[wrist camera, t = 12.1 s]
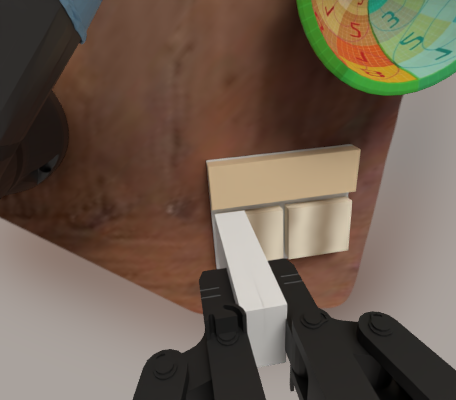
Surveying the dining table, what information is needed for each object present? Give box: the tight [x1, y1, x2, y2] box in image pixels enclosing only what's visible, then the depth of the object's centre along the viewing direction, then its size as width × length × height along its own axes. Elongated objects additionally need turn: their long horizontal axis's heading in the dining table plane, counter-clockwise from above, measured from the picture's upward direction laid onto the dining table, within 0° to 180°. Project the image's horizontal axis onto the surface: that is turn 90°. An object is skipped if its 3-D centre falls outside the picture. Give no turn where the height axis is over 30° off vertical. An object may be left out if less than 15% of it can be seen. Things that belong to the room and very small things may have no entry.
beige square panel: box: [285, 196, 352, 259], centre depth 47 cm, size 9×8×2 cm
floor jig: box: [206, 144, 361, 269], centre depth 46 cm, size 20×17×3 cm
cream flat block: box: [217, 205, 283, 264], centre depth 46 cm, size 9×8×2 cm
